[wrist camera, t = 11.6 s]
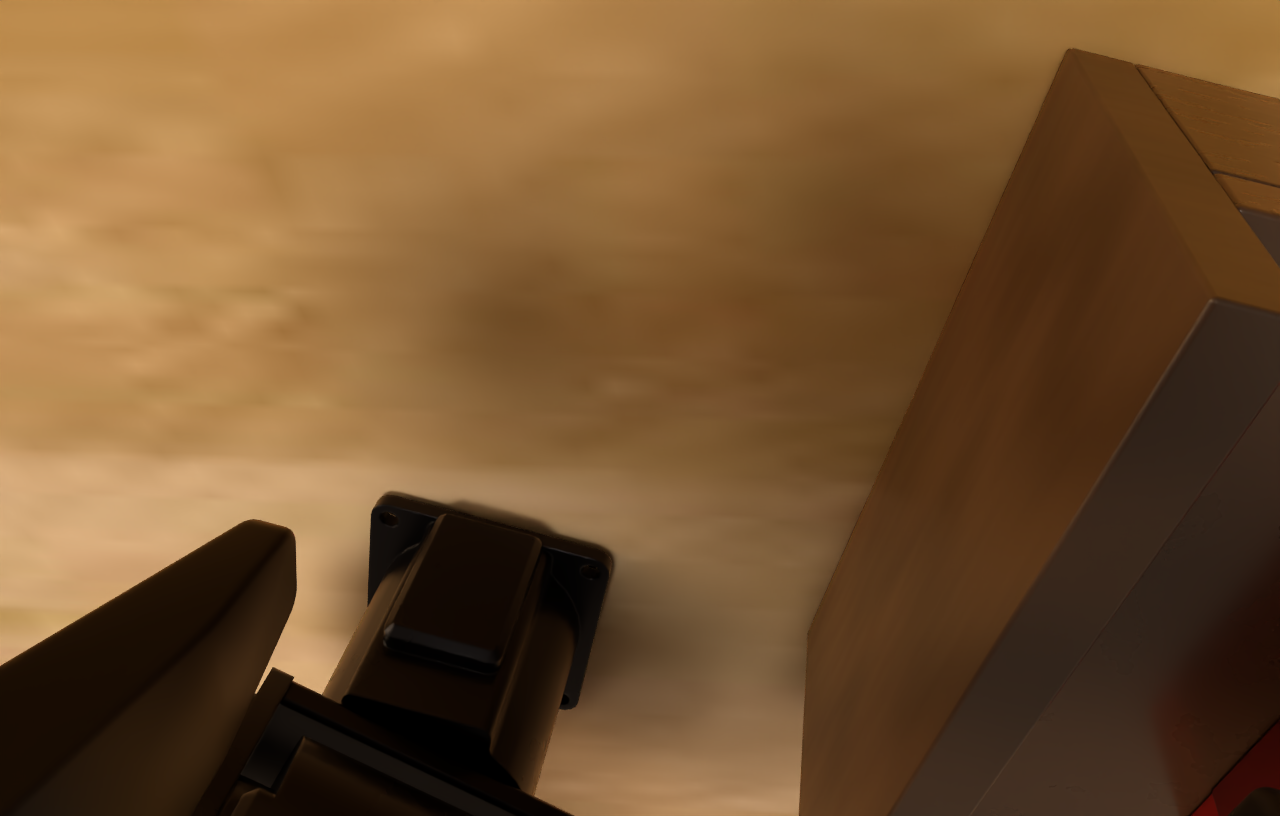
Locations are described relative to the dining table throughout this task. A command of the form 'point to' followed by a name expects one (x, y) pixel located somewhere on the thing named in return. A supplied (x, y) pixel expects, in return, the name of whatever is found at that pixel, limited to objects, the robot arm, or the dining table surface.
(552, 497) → the dining table surface
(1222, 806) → the red square bottle
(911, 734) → the shelf
